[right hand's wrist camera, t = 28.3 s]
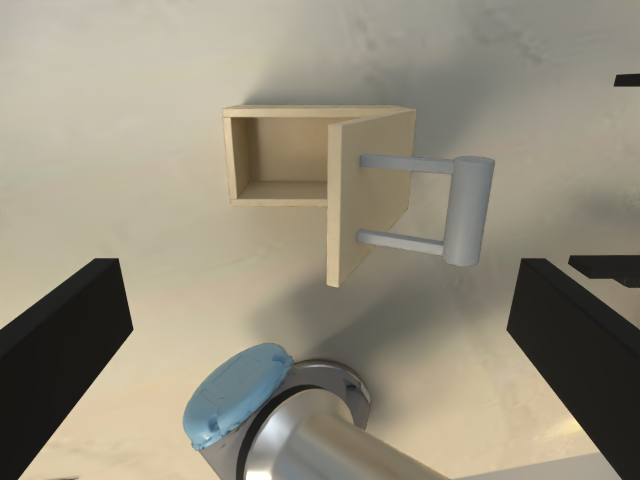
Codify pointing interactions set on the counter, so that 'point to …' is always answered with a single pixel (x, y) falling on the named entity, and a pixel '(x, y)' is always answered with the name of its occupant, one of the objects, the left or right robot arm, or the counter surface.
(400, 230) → the counter surface
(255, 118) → the chest
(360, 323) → the counter surface
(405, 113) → the lid
